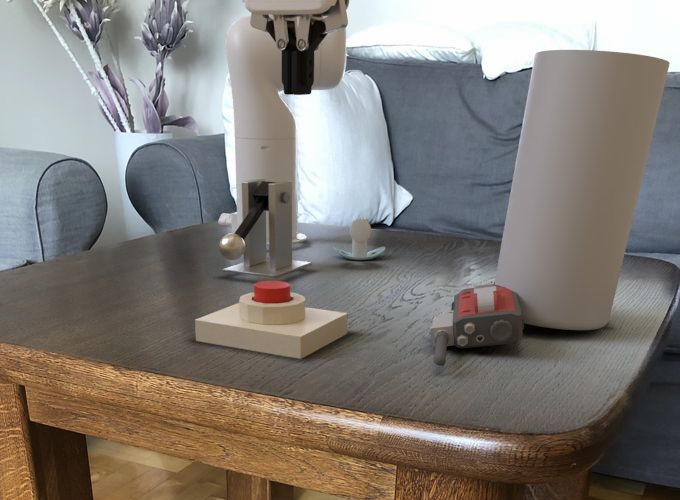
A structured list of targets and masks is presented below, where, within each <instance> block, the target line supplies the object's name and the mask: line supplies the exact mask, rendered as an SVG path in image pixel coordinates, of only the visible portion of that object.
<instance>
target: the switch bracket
mask: <svg viewBox="0 0 680 500" xmlns="http://www.w3.org/2000/svg"><path fill="white" fill-rule="evenodd" d="M262 181H265V179H255V180H249V181H244V182H242V216H243V220H244V219H245V217H246V216H247V214H248V213H249V212H250V210H251V209H252V207H253V206H254V204H255V200H254V197H253V193H254V192H255V191H256V189H257V188H258V186H259V185H260V184H261V182H262ZM268 186H269V245H268V256H267V245H266V211H263V213H262V214H261V216H260V217H259V219H258V220H257V222H256V223H255V225H254V226H253V228H252V229H251V230H250V232H249V233H248V235H247V236H246V238H245V239H244V243H245V251H244V254H243V262H240V263H237V264H234V265H231V266H228V267H225V268H223V269H222V272H225V273H233V274H240V275H249V276H255V277H264V278H272V279H276V278H279V277H282V276H284V275H287V274H289V273H293V272H295V271H299V270H300V269H304V268H306V267H309V266H312V262H311V261H302V260H294V259H293V244H292V181H281V182H275V183H270V184H268Z"/></svg>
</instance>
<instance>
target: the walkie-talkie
mask: <svg viewBox="0 0 680 500" xmlns="http://www.w3.org/2000/svg"><path fill="white" fill-rule="evenodd" d="M453 297H454V298H453V301H452V303H451V310H446V311H444V312H441V313H439V314H437V315H435V316H433V319H432V325H431V326H430V330H429V332H430V340H431V347H432V348H435V349H434V355H433V363H434V364H435V365H437V366H439V367H444V366H445V364H446V361H447V351H448V350H447V348H448V347H449V346H451V347H452V346H454V347H456V348H459V349H468V348H480V347H488V346H498V345H507V344H517V343H518V342H520V341H522V340H523V339H524V337H523V336H524V335H523V331H524V330H525V324H524V319H523V314H522V311H521V309H520V304H519V300H518V295H517V293H515V292H513V291H512V290H510V289H508V288H506V287H502V286H500V285H495V282H488V283H480V284H474V285H473V287H468V288H464V289H462V290H460V291H459V292H458V293H456V294H454V296H453Z"/></svg>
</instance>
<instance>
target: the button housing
mask: <svg viewBox="0 0 680 500" xmlns="http://www.w3.org/2000/svg"><path fill="white" fill-rule="evenodd" d="M194 326H195V327H194V328H195V341H196V342H201V343H207V344H213V345H219V346H223V347H229V348H236V349H241V350H246V351H252V352H259V353H264V354H271V355H276V356H282V357H288V358H293V359H299V360H302V359H303V358H305V357H308V356H309V355H311V354H313V353H314V352H316V351H318V350H320V349H322V348H323V347H326V346H327V345H329V344H331V343H333V342H335V341H336V340H338V339H340V338H342V337H344V336H345V335H347V334H348V313H347V312H343V311H342V312H341V311H334V310H328V309H321V308H314V307H308V306H307V307H306V298H305V296H304V295H301V294H300V293H297V292H292V291H290V302H285V303H278V304H270V303H259V302H255V301H254V291H253V292H248V293H246V294H243V295H240V296H239V301H238V302H237V303H235V304H232V305H230V306H227V307H224V308H221V309H219V310H217V311H214V312H211V313H209V314H206V315H203V316H201V317H198V318H196V319H194Z"/></svg>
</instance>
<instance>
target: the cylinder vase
mask: <svg viewBox="0 0 680 500" xmlns="http://www.w3.org/2000/svg"><path fill="white" fill-rule="evenodd" d="M670 65H671V64H670V61H668V60H666V59H664V58H659V57H655V56H651V55H644V54H638V53H631V52H630V53H629V52H619V51H609V50H594V49H549V50H542V51H538V52H535V53H534V58H533V63H532V68H531V73H530V79H529V85H528V92H527V97H526V103H525V104H526V105H525V108H524V114H523V120H522V126H521V130H520V131H521V132H520V135H519V143H518V147H517V154H516V159H515V165H514V170H513V176H512V181H511V187H510V194H509V199H508V204H507V211H506V214H505V215H506V217H505V220H504V221H505V222H504V227H503V233H502V239H501V245H500V250H499V255H498V256H499V257H498V261H497V266H496V272H495V278H494V283H495V285H500V286H502V287H506V288H508V289H510V290H512V291H513V292H515V293H517V295H518V300H519V304H520V309H521V311H522V314H523V319H524V325H530V326H534V327H540V328H548V329H555V330H565V331H566V330H567V331H591V330H592V331H593V330H598V329H602V328H603V327H605V326H606V325H607V324H608V323H609V321H610V318H611V314H612V310H613V304H614V300H615V297H616V293H617V288H618V283H619V279H620V276H621V272H622V268H623V267H622V266H623V262H624V258H625V254H626V249H627V246H628V241H629V237H630V232H631V228H632V225H633V220H634V216H635V212H636V208H637V203H638V199H639V196H640V191H641V187H642V183H643V178H644V174H645V169H646V166H647V161H648V157H649V153H650V148H651V145H652V144H651V143H652V140H653V136H654V132H655V129H656V128H655V127H656V123H657V119H658V115H659V112H660V111H659V110H660V107H661V102H662V98H663V93H664V89H665V84H666V80H667V78H668V77H667V76H668V73H669V68H670Z"/></svg>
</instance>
